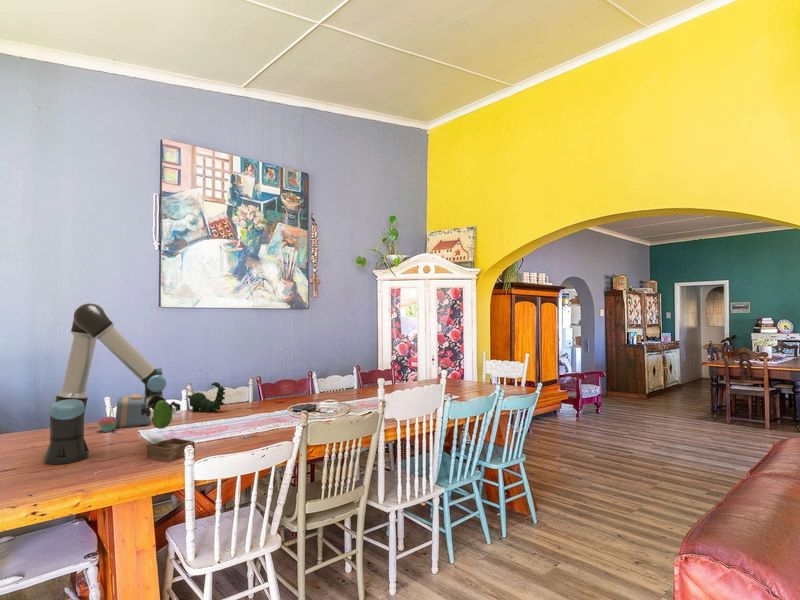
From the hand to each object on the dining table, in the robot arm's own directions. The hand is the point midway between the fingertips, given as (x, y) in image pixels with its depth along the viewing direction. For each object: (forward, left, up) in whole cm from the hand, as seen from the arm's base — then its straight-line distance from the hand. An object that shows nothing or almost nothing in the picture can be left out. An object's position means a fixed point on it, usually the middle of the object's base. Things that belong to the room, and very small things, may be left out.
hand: (163, 412), depth 206 cm
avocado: (+2, +4, -8) cm, 9 cm away
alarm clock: (+31, +68, -19) cm, 77 cm away
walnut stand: (+3, 0, -18) cm, 19 cm away
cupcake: (+16, +66, -19) cm, 70 cm away
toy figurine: (+71, +60, -19) cm, 95 cm away
